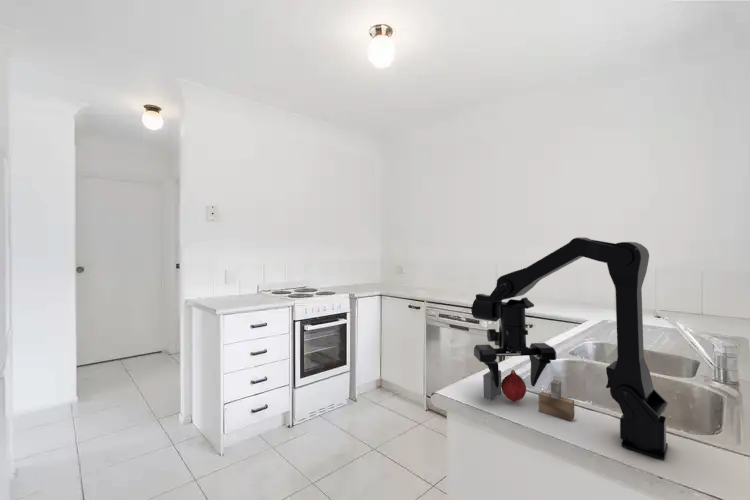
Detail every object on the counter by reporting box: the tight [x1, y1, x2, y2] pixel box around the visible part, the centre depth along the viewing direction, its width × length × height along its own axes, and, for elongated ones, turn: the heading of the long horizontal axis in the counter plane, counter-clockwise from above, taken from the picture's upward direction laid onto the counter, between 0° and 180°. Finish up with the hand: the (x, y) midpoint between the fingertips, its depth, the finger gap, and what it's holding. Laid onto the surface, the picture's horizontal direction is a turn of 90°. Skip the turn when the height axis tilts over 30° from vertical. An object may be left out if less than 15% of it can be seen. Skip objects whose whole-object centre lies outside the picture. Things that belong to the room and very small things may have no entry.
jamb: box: [482, 369, 502, 401], centre depth 92 cm, size 2×6×6 cm, turn 136°
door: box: [538, 379, 575, 422], centre depth 81 cm, size 7×2×8 cm, turn 46°
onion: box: [501, 369, 527, 403], centre depth 88 cm, size 6×6×8 cm
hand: (514, 386), depth 87 cm, fingers open, 9 cm apart
